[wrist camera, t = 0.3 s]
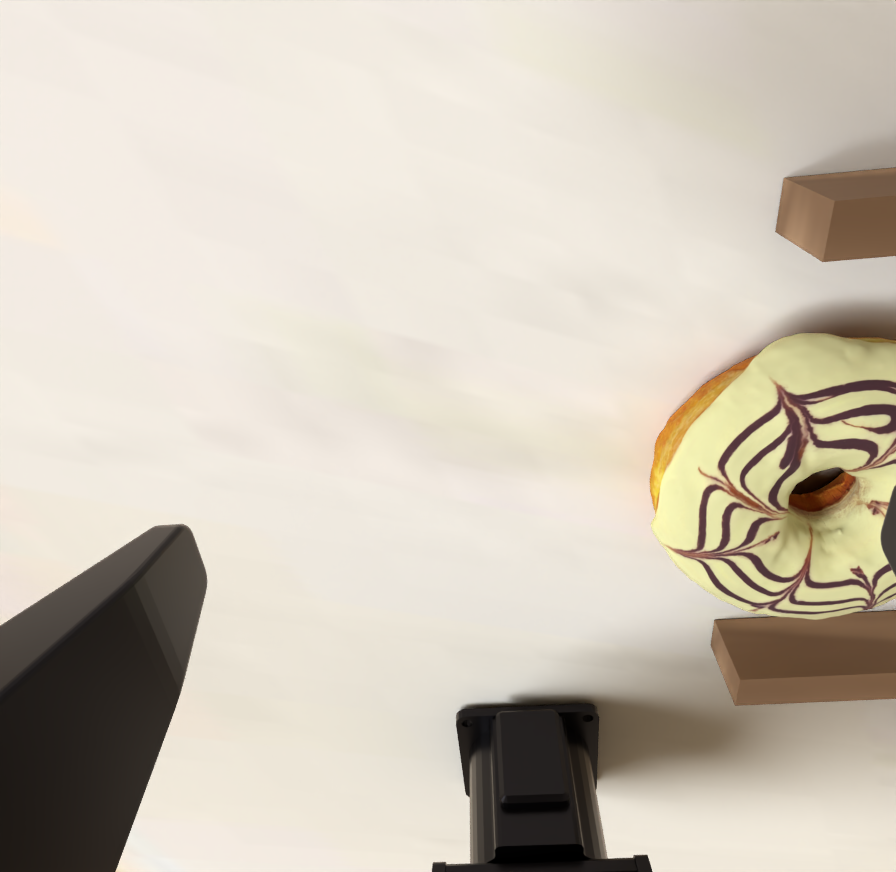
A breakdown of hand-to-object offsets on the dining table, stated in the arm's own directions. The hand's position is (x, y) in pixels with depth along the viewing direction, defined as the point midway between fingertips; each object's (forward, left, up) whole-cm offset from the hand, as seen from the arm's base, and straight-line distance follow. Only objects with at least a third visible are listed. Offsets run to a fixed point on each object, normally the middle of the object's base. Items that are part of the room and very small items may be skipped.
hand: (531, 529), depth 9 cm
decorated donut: (-8, -10, -14) cm, 19 cm away
